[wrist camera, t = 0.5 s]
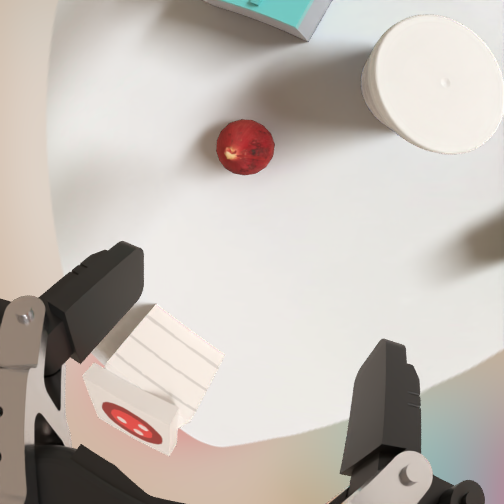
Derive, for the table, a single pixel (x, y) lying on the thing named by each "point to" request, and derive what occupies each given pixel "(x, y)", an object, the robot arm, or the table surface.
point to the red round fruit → (245, 147)
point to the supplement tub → (434, 84)
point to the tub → (303, 32)
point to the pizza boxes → (154, 380)
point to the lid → (277, 9)
